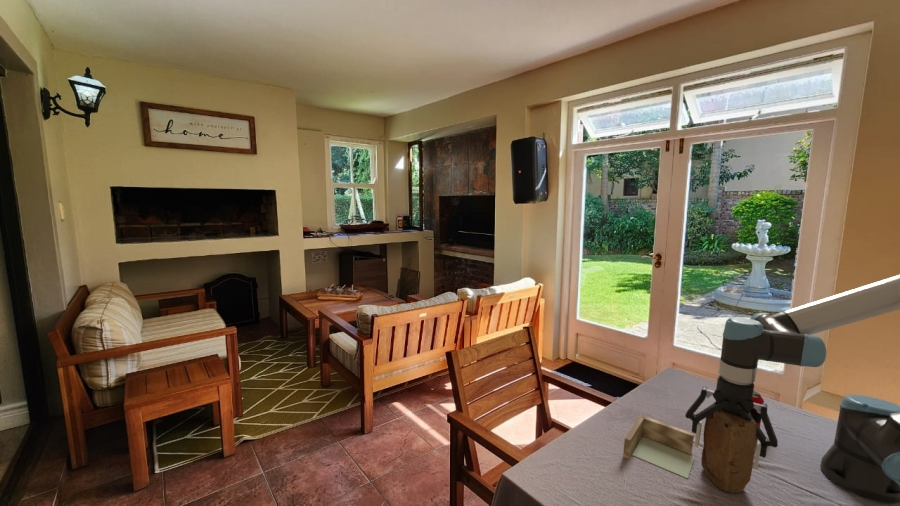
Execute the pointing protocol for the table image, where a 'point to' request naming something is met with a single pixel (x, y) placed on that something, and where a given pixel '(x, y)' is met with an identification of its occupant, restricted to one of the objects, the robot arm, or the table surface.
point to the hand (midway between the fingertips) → (725, 454)
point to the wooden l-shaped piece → (657, 435)
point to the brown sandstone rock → (728, 450)
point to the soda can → (753, 411)
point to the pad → (664, 457)
